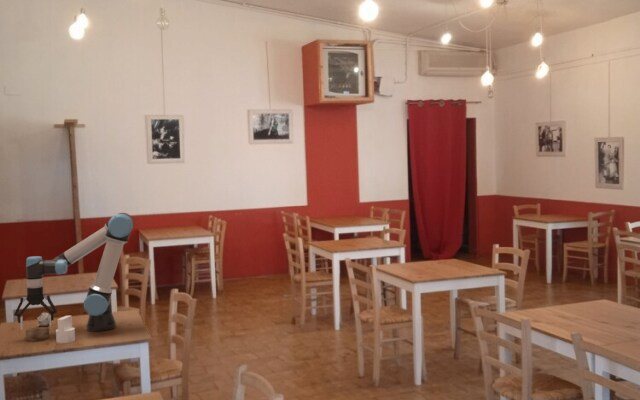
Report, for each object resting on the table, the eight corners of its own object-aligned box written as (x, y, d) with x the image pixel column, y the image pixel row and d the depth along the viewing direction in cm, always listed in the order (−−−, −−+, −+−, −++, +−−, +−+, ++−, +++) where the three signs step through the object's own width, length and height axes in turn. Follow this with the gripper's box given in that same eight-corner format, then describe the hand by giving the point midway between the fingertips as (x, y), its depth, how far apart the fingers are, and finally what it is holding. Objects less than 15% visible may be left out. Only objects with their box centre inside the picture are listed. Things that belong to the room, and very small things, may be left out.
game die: (49, 332, 376) (59, 317, 377) (38, 330, 369) (49, 315, 369) (39, 323, 380) (50, 308, 381) (29, 321, 372) (40, 305, 373)
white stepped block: (62, 338, 345) (60, 315, 344) (78, 338, 344) (77, 315, 343) (52, 343, 336) (51, 319, 335) (69, 343, 335) (68, 319, 334)
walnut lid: (50, 335, 353) (49, 326, 353) (48, 340, 342) (48, 330, 342) (27, 338, 350) (27, 328, 349) (25, 343, 339) (24, 333, 339)
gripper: (61, 284, 352) (62, 324, 353) (9, 287, 344) (10, 328, 345) (60, 286, 345) (61, 327, 346) (7, 289, 337) (8, 331, 338)
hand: (36, 327), depth 346 cm, fingers open, 13 cm apart
